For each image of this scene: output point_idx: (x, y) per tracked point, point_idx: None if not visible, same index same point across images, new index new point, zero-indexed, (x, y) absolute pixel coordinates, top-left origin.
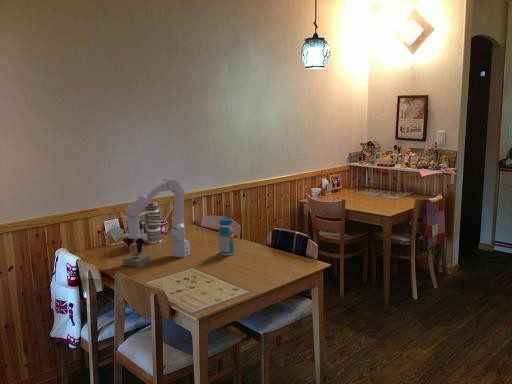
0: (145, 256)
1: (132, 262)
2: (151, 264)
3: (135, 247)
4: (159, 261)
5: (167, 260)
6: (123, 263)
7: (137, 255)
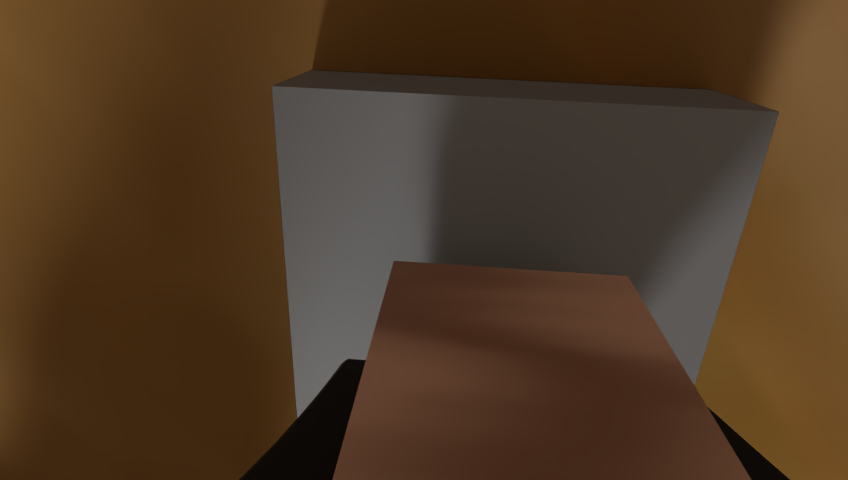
0: None
1: (462, 88)
2: (194, 259)
3: (398, 468)
4: (175, 395)
5: (98, 446)
6: (725, 94)
7: (390, 283)
